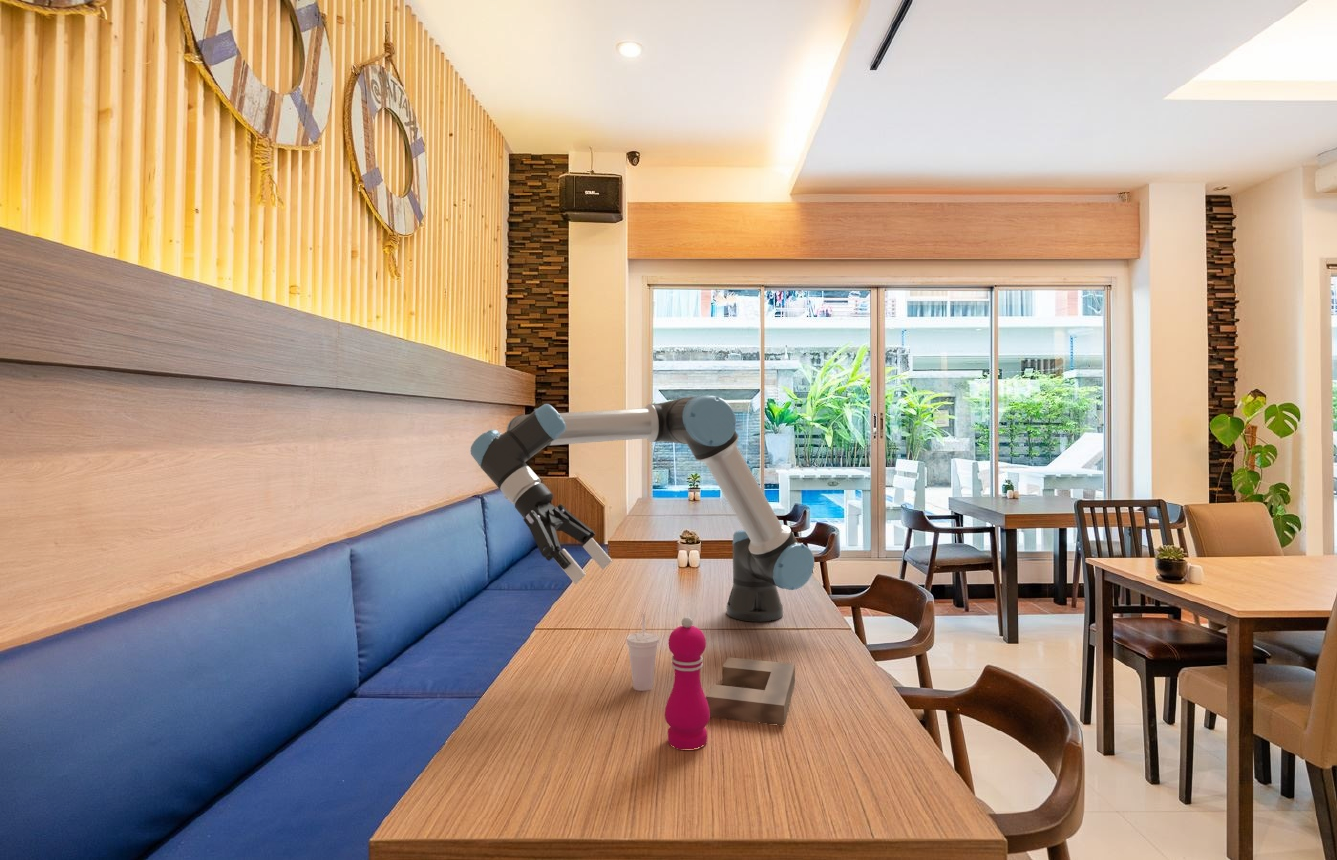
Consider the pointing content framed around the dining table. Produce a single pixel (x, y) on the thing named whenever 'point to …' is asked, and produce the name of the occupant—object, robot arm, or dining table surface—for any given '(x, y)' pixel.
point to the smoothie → (642, 657)
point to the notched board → (753, 691)
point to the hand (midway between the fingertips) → (595, 572)
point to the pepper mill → (687, 689)
